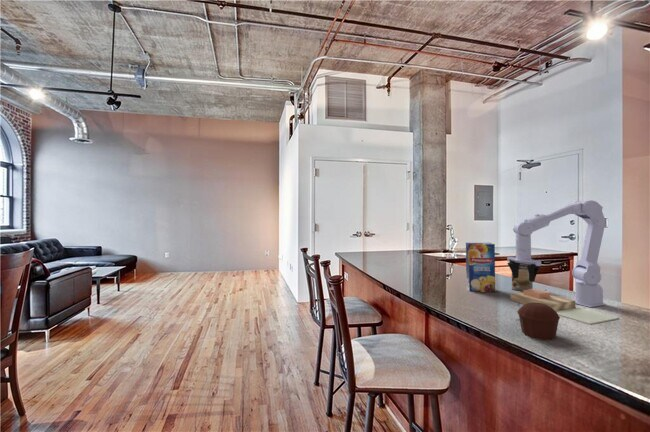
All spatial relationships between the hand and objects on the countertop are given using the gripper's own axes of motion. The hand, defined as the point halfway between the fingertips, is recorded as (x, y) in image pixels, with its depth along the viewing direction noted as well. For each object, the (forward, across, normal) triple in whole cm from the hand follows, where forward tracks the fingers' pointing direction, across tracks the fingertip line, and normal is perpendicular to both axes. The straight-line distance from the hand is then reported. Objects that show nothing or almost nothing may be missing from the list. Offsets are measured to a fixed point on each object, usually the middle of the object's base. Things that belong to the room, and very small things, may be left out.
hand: (523, 279), depth 136 cm
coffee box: (+10, -15, +18) cm, 26 cm away
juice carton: (+10, -22, -2) cm, 25 cm away
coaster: (+7, +4, +3) cm, 8 cm away
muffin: (+10, +28, -30) cm, 43 cm away
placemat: (+10, +22, +3) cm, 24 cm away
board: (+10, +6, +3) cm, 12 cm away
